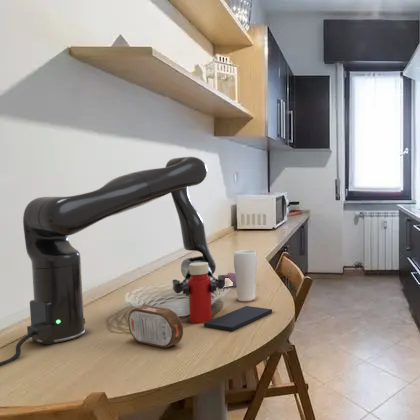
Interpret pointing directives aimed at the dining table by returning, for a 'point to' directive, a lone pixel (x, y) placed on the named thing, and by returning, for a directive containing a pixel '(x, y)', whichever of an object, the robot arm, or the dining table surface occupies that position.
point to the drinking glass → (245, 274)
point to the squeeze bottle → (199, 293)
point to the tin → (155, 326)
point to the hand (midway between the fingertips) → (199, 290)
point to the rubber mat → (238, 318)
